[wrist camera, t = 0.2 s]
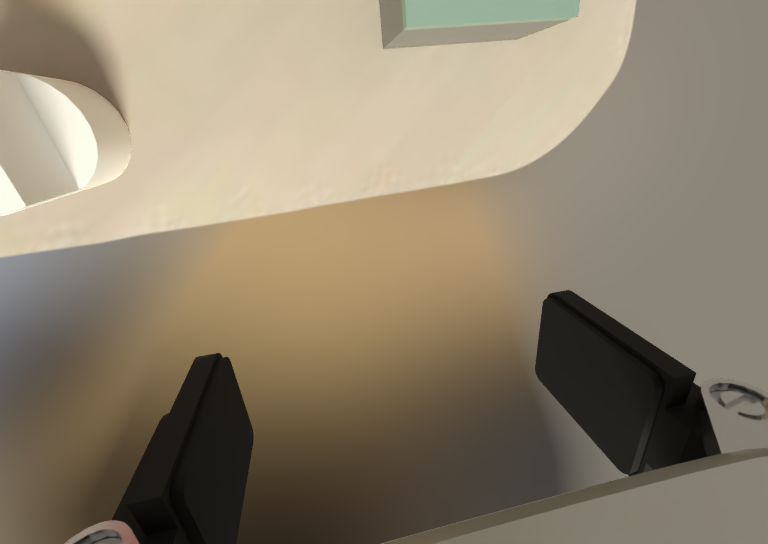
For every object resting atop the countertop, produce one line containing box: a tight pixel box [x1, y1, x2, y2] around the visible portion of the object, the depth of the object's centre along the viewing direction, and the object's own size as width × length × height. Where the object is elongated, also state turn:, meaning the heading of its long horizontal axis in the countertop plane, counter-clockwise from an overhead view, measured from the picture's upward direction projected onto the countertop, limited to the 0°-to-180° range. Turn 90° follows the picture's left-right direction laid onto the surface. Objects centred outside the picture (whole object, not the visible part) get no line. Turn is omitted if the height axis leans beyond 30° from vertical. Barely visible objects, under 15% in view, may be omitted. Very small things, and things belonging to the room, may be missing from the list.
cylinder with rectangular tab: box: [0, 70, 132, 216], centre depth 27 cm, size 9×9×12 cm
